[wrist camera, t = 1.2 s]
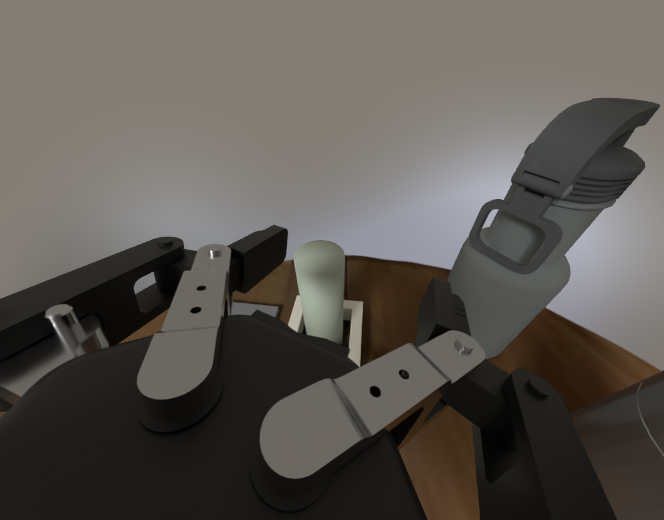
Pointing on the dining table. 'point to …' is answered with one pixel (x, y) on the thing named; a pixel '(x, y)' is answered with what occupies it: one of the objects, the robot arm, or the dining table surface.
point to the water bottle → (545, 216)
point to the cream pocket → (350, 312)
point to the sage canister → (321, 288)
